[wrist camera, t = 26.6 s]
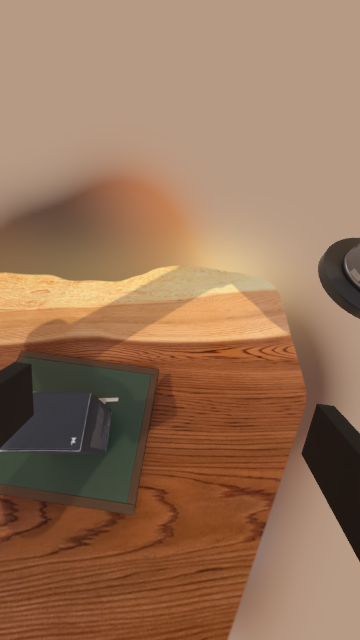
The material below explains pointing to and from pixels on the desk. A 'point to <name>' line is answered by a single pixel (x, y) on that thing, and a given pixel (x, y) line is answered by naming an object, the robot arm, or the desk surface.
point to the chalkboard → (88, 469)
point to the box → (63, 425)
